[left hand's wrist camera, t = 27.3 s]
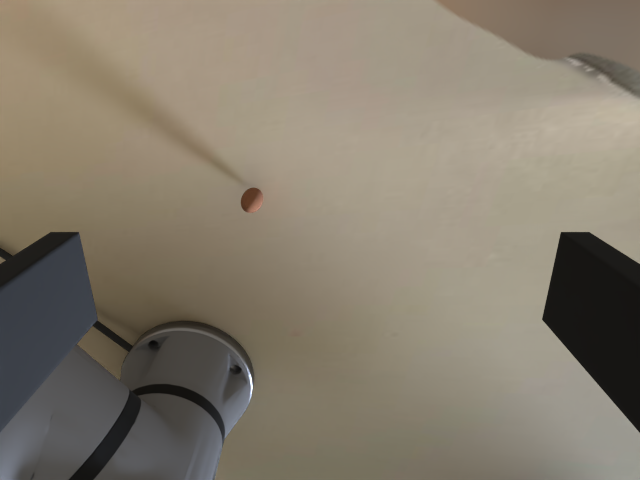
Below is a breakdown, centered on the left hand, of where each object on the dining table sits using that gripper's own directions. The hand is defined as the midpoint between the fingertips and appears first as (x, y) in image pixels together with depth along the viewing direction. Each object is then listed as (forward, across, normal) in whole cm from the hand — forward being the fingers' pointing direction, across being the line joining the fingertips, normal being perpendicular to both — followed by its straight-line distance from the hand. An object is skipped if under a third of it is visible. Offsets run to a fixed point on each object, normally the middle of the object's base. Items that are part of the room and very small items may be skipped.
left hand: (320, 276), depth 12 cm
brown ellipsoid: (+33, -7, -7) cm, 34 cm away
